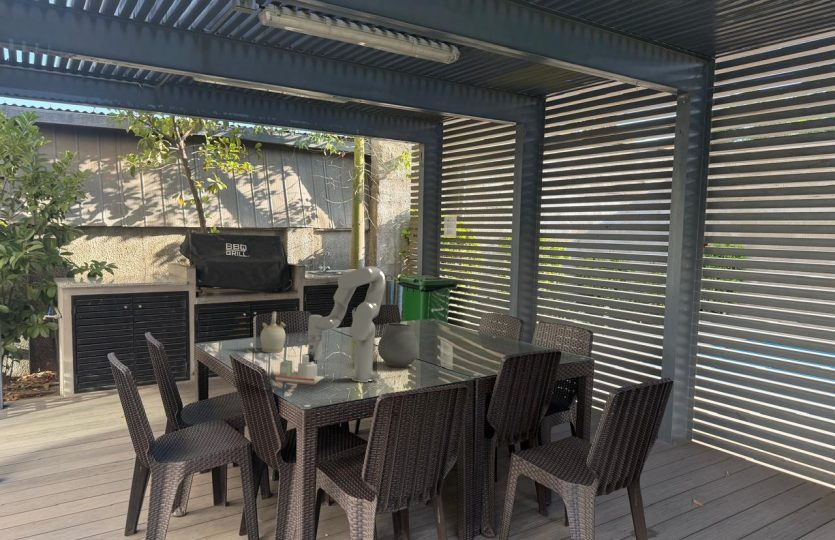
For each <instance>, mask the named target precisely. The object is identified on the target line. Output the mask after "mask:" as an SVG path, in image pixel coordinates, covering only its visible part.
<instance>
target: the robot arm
mask: <svg viewBox="0 0 835 540" xmlns="http://www.w3.org/2000/svg"><path fill="white" fill-rule="evenodd" d="M367 284H369V286H368V288H367V291H366V296H365V299H364V301H363V302H360V303H359V305H357V307H356V308H355V309H356V310H355V313H354V316H353V319H352V323H351V327H350V335H351V337H352V339H353V340H355V349H354V351H355V352H354V368H353V369H354V370H353V375H352V376H350V380H351V379H352V380H351V381H353V380H354V381H353V382H356V381H358V382H357V383H369V382H368V381H372V382H374V381H375V379H380V377H381V374H380V373H375V371H374V370H373V366H374V365H373V364H374V363H373V362H374V349H375V348H374V347H375V337H376V325H375V324H374V322H373V319H375V318H376V317H377V316H378V315H379V312H380V309H381V304H382V303H383V302H382V301H383V297H384V294H385V290H386V284H387V282H386V276H385V274H384V272H383V271H382V270H381V269H380V268H379V267H377V266H375V265H374V266H373V265H369V266H362V267H359V268H357V269H354V270H351V271H349V272H346V273H343V274H341V275H339V277H338V279H337V285H338V286H337V287H338V288H337V289H336V291H335V293H334V295H333V301H334V305H333V308H332V310H331V312H330V313H329V315H328V316H323V315H320V314H311V315H309V317H308V325H307V326H308V327H307V328H308V330H307V333H308V334H307V341H308V346H307V354H311V355H313V356H314V364H317V365H318V363H319V361H318V360H319V359H321V358H322V356H323V350H322V349H323V347H322V346H323V345H322V344H323V343H322V341H323V331H324V332H329V331H332V330H334V329H337V328H338V327H339V326H340V325H341V323H342V322H343V319H344V317H345V316H346V313H347V311H348V307H349V306H348V305H349V303H350V301H351V299H352V297H353V295H354V293H355V291H356V289H357V287H360V286H363V285H367ZM373 380H374V381H373Z"/></svg>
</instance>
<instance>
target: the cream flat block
mask: <svg viewBox="0 0 835 540" xmlns="http://www.w3.org/2000/svg"><path fill="white" fill-rule="evenodd" d="M324 378H325V376H322V375H321V376H320V375H319V376H318V375H317V378H312V379H310V378H300V377H298V373H292V377H290V376H280V374H276V375H275V382H281V383H290V384H299V385H300V384H301V385H309V386H310V385H311V386H315V385H316V384H318V383H319V382H320V381H321V380H323V379H324Z"/></svg>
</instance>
